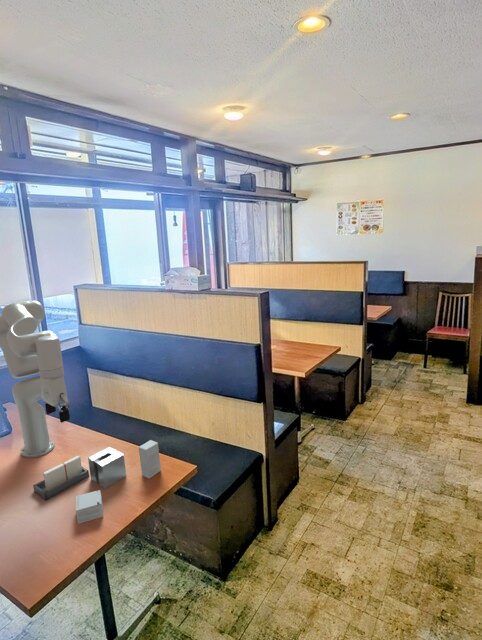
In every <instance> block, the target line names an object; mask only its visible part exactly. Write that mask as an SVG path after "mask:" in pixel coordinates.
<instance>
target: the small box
mask: <svg viewBox="0 0 482 640" xmlns="http://www.w3.org/2000/svg"><path fill="white" fill-rule="evenodd" d="M75 512H76V513H75V514H76V519H77V524H78V525H79V524H83V523H85V522H89V521H93V520H96V519H100V518H103V517H104V509H103V499H102V492H101V489H99V490H95V491H91V492H87V493H84V494H83V493H82V494H79V495H76V496H75Z"/></svg>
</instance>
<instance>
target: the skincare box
mask: <svg viewBox="0 0 482 640" xmlns="http://www.w3.org/2000/svg"><path fill="white" fill-rule="evenodd" d="M159 448H160V447H159V442H157V441H154V440H152V439H150V440H148V441H146V442H145V443H143V444H141V445H139V447H138V453H139V460H140V461H139V462H140V468H141V470H140V471H141V476H142V477H145V478H147V479H149V480H150V479H151V478H153V477H154V476H156V475H158V473H160V472H161V471H162V468H161V459H160V449H159Z"/></svg>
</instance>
